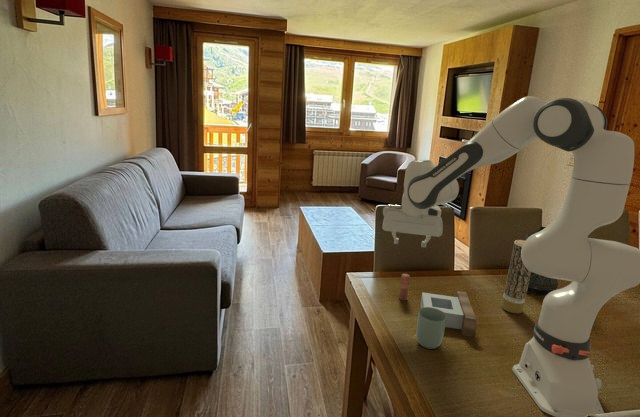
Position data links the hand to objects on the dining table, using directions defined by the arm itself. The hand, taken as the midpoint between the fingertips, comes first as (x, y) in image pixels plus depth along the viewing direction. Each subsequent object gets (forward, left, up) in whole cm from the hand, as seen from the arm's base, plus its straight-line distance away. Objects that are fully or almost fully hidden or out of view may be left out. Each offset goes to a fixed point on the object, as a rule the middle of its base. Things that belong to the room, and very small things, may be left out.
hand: (409, 245), depth 132 cm
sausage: (0, 0, -21) cm, 21 cm away
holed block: (-9, -12, -21) cm, 26 cm away
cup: (-27, -7, -21) cm, 35 cm away
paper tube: (+3, -38, -21) cm, 44 cm away
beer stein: (+25, -53, -21) cm, 62 cm away
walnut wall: (-10, -19, -21) cm, 30 cm away
